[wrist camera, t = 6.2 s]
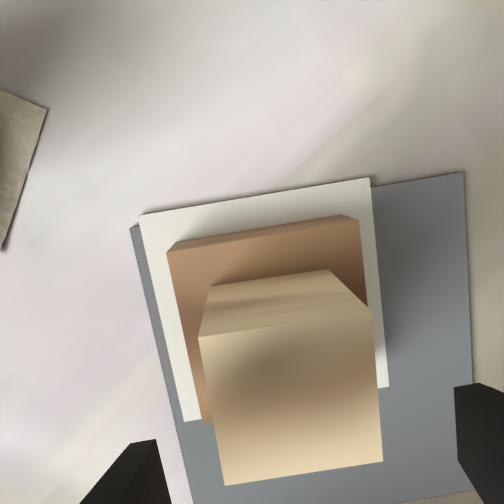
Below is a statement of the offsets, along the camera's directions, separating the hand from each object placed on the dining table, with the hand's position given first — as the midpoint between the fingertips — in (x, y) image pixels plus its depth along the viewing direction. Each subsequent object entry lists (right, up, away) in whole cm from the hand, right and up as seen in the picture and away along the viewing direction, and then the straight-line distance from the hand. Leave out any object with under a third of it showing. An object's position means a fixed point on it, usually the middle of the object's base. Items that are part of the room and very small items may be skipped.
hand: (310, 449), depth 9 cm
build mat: (+2, -2, +11) cm, 11 cm away
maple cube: (0, +1, +7) cm, 7 cm away
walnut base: (0, +2, +10) cm, 10 cm away
